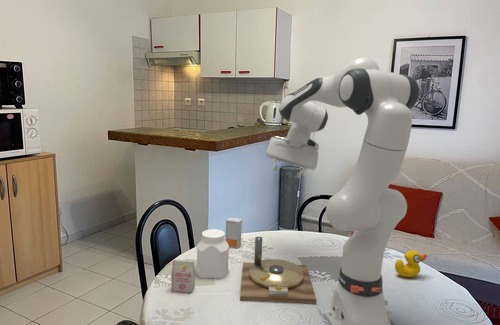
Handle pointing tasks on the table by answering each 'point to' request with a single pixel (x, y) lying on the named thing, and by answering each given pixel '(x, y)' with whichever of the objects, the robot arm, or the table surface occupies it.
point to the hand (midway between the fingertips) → (286, 173)
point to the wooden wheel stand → (277, 290)
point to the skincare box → (233, 232)
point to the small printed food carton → (183, 276)
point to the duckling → (410, 264)
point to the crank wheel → (274, 270)
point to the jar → (212, 255)
